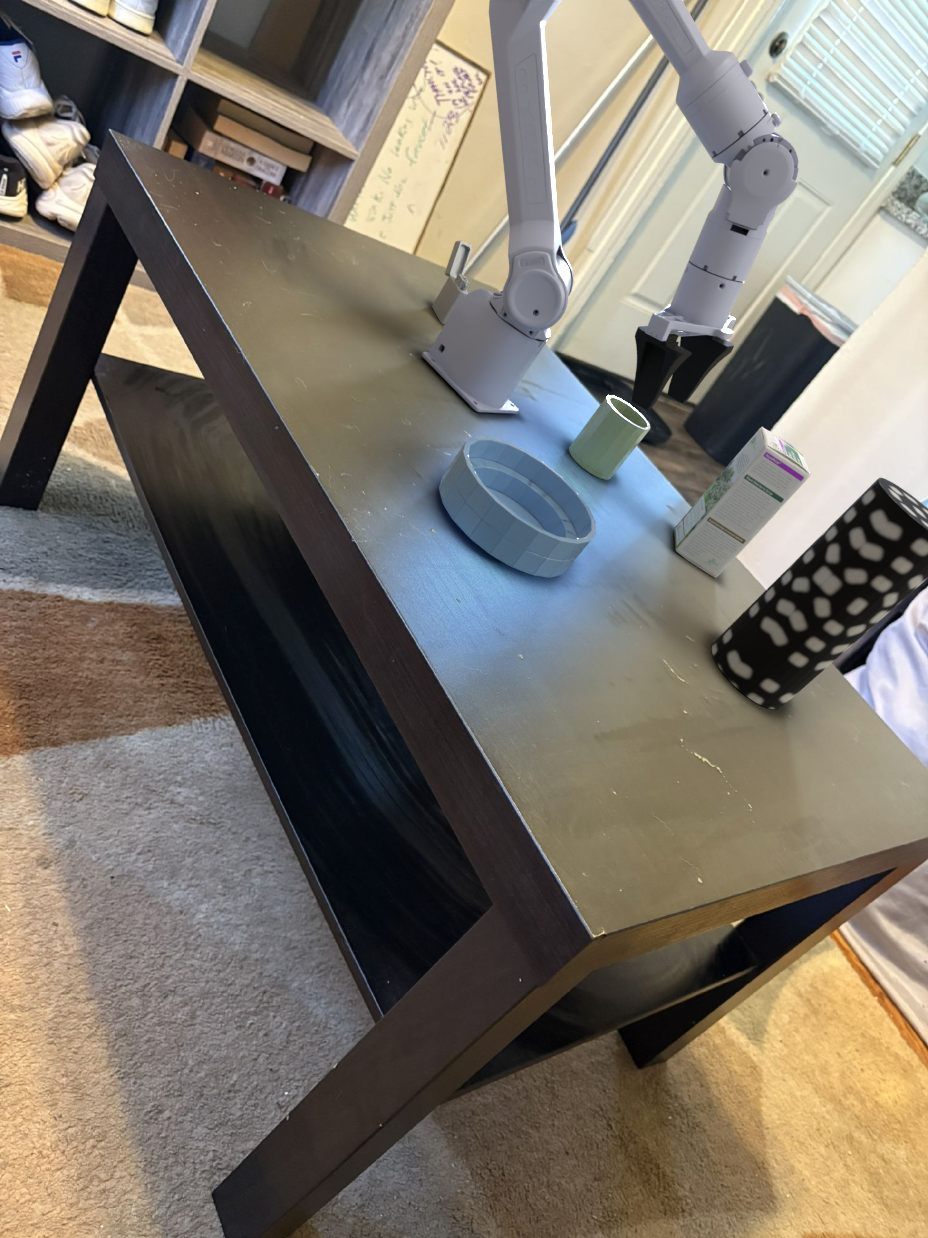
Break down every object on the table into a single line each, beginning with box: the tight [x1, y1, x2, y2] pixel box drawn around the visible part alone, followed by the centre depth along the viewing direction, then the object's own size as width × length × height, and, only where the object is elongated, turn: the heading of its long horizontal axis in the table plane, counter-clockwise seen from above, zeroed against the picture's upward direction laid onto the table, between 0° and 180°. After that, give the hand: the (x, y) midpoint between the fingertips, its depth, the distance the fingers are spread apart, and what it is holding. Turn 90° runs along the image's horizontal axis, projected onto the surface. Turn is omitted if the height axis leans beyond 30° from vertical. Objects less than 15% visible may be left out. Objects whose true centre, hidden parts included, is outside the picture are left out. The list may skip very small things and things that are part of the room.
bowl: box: [438, 436, 597, 579], centre depth 73 cm, size 13×13×4 cm
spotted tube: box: [711, 477, 928, 710], centre depth 75 cm, size 8×8×20 cm
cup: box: [568, 394, 652, 481], centre depth 96 cm, size 6×6×7 cm
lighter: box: [431, 240, 473, 325], centre depth 105 cm, size 7×2×8 cm, turn 20°
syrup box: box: [673, 426, 812, 579], centre depth 91 cm, size 6×6×14 cm
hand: (658, 402), depth 91 cm, fingers open, 7 cm apart
